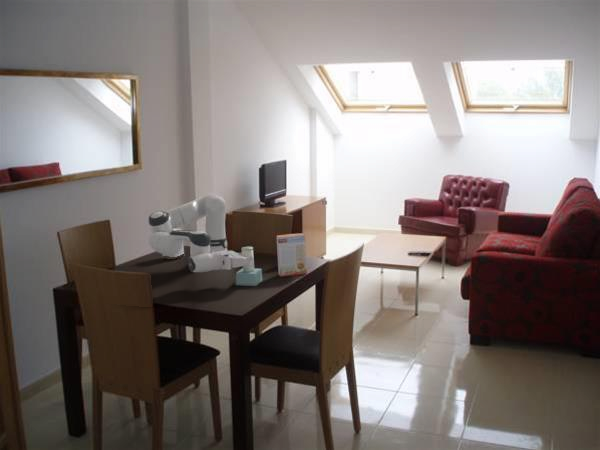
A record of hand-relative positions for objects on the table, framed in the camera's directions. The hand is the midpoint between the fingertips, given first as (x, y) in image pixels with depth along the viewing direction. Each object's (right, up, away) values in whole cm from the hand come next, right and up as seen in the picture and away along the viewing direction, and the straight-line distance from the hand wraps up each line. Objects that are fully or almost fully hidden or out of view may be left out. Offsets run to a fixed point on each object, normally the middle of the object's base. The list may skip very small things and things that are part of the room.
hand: (248, 256), depth 328 cm
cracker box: (+21, -10, +15) cm, 28 cm away
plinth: (0, -13, +2) cm, 13 cm away
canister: (0, -7, +1) cm, 7 cm away
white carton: (-49, -4, +64) cm, 81 cm away
